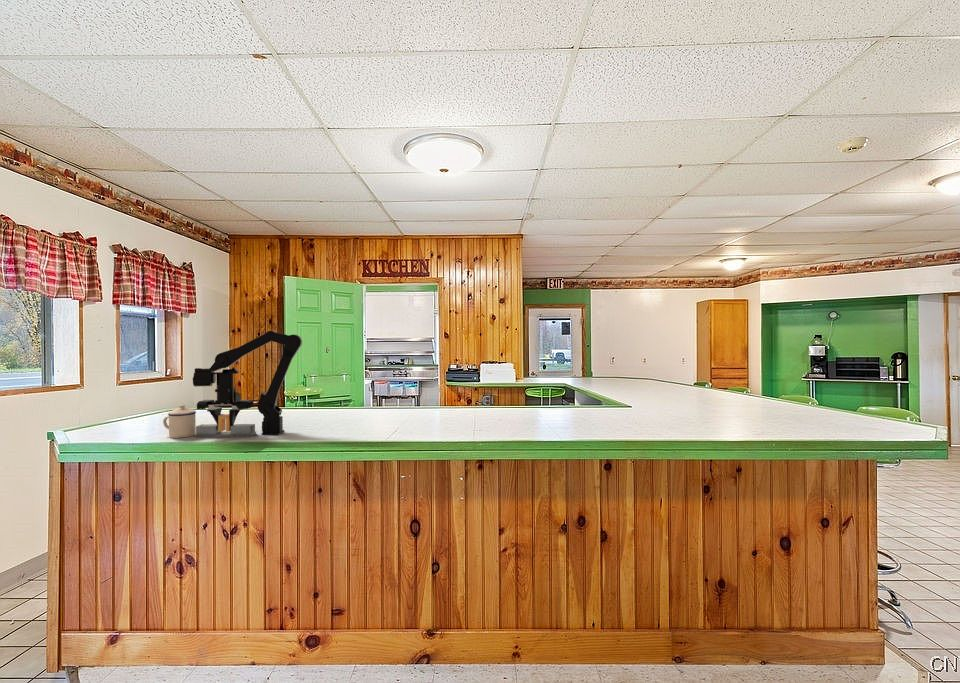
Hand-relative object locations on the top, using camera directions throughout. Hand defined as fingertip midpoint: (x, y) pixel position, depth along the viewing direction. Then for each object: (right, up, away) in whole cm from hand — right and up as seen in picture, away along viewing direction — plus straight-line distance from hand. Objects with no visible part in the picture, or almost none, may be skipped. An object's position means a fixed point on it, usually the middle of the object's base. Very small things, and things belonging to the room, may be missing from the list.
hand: (225, 427), depth 188 cm
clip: (0, -1, 0) cm, 1 cm away
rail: (0, -3, 0) cm, 3 cm away
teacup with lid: (-18, -4, +1) cm, 18 cm away
